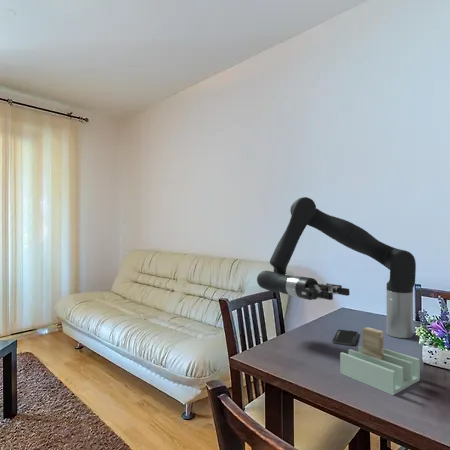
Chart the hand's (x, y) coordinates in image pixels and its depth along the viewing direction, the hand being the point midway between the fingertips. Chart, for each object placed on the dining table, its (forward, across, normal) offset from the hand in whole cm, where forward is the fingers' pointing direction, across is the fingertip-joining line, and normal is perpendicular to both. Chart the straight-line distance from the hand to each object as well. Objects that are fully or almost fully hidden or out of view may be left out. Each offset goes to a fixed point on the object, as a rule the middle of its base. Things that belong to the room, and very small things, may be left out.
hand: (340, 294), depth 110 cm
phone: (-12, +19, +22) cm, 32 cm away
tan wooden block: (+11, -1, +21) cm, 23 cm away
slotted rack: (+13, -1, +22) cm, 25 cm away
